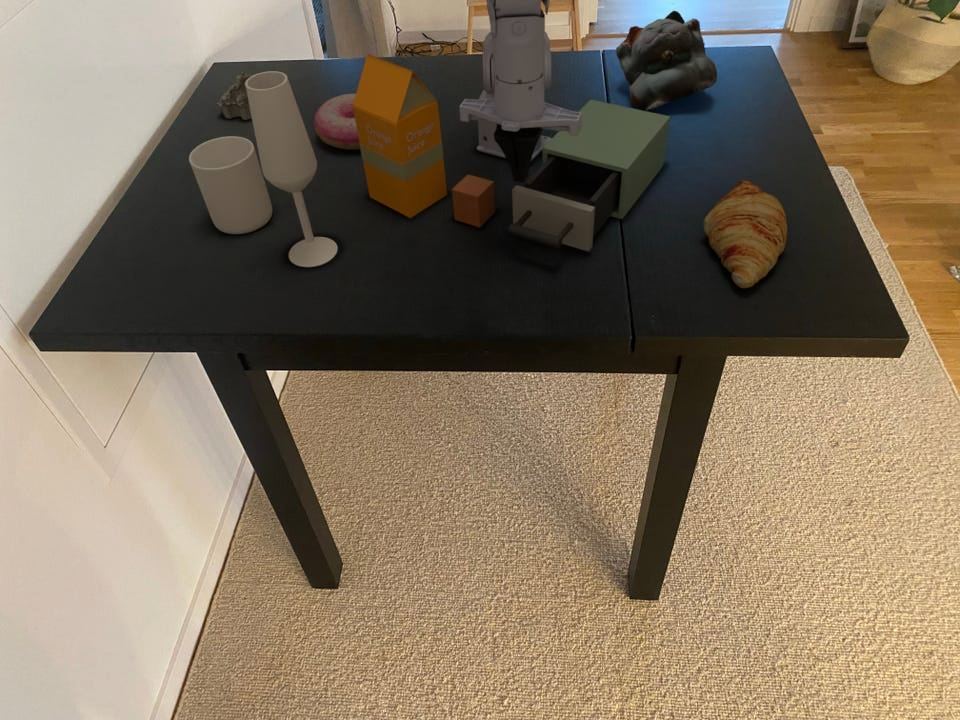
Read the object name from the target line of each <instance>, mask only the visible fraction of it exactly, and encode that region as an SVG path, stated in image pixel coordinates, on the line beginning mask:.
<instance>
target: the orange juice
mask: <svg viewBox="0 0 960 720" xmlns="http://www.w3.org/2000/svg"><path fill="white" fill-rule="evenodd" d="M355 93H356V96H355V99H354V103H353V104H352V105H353V111H354V116H355V121H356V126H357V132H358V137H359V142H360V149H359V150H360V154H361V159H362V163H363V168H364V174H365V178H366V184H367V189H368V194H369V198H370V199H373V200H374V201H377V202H378V203H380V204H383V205H384V206H386V207H388V208H390V209H392V210H394V211H396V212H397V213H399V214H401V215H403V216H405V217H407V218H409V219H412V218H413V217H414V216H416V215H418V214H419V213H421V212H422V211H424V210H425V209H427V208H428V207H430V206H432V205H434V204H435V203H436V202H438V201H440V200H441V199H443V198H444V197H446V196H447V195H448V191H447V181H446V171H445V161H444V159H445V157H444V145H443V141H442V140H443V139H442V132H441V122H440V113H439V112H440V111H439V100H438V99H437V98H436V97H435V96H434V95H433V93H432V92H431V91H430V90H429V89H428V87H427V86H426V85H425V84H424V83H423V82H422V80H421V79H420V78H419V77H418V76H417V75H416V74H415V72H414V71H413V70H412V69H409V68H406V67H404V66H401V65H400V64H399V65H398V64H396V63H394V62H390V61H388V60H385V59H382V58H380V57H378V56H375V55H372V54H369V53H366V58H365V61H364V65H363V69H362V72H361V76H360V79H359V82H358V86H357V90H356V92H355Z"/></svg>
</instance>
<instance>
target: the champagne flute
mask: <svg viewBox="0 0 960 720" xmlns="http://www.w3.org/2000/svg"><path fill="white" fill-rule="evenodd" d="M245 86H246V91H247V96H248V101H249V106H250V111H251V116H252V118H251V122H252V126H253V132H254V136H255V141H256V146H257V151H258V156H259V161H260V162H259V163H260V168H261V172H262V175H263V177H264V179H265V180H267V181H268V182H269V183H270V184H271V185H273V186H274V187H275V188H277V189H280V190H283V191H285V192H287V193H291V194H292V198H293V201H294V204H295V207H296V211H297V215H298V218H299V219H298V220H299V222H300V226H301V230H302V233H303V236H304V239H302V240H300V241H297V242H296V243H295V244H294V245H293V246H292V247H291V248H290V250H289V251H288V259H289V261H290V262H291V263H292V264H294V265H295V266H298V267H301V268H302V267H303V268H312V267H313V268H314V267H319V266H322V265H324V264H326V263H328V262H330V261H331V260H332V259H333V258H334V257H335V256H336V255H337V253H338V249H339V248H338V245H337V243H336V242H335V241H334V240H333V239H331V238H329V237H325V236H314V233H313V229H312V226H311V221H310V218H309V214H308V211H307V207H306V202H305V199H304V195H303V192H302V191H303V190H304V189H305V188H306V187H307V186H308V185H309V184H310V183H311V182H312V180H313V179H314V177H315V175H316V174H317V173H316V172H317V168H318V160H317V157H316V155H315V151H314V149H313V146H312V143H311V140H310V137H309V135H308V131H307V128H306V126H305V123H304V120H303V117H302V114H301V112H300V109H299V106H298V103H297V101H296V98H295V95H294V92H293V89H292V86H291V83H290V81H289V78H288V75H287V74H286V73H284V72H281V71H275V70H274V71H273V70H270V71H262V72H259V73H256V74H254V75H252V76H251V77H250V78H249V79H247V81H246V82H245Z"/></svg>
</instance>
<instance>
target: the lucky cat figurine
mask: <svg viewBox="0 0 960 720" xmlns="http://www.w3.org/2000/svg"><path fill="white" fill-rule="evenodd" d="M700 24H701V23H700V21H699V19H697V18H691V19H689V20H687V21H685V20H684V18H683V17H682V15H681V13H680V12H679V11H678V10H672V11H671V12H670V13H669V14H667V15H666V17H664V18H658V19H655V20H654V21H653V22H650V23H648V24H646V25H645V26H644V27H639V26H638V25H634V26H630V27H629V29H628V34H627V35H626V38H625V39H624V40H623V41H622V42H621V43H620V44H619V45H618V46H617V47H616V48H615V52H616V57H617V59H618V61H619V65H620V69H621V70H622V72H623V75H624V78H625V80H626V82H627V86H628V89H629V92H630V97H629V98H630V102H631V104H632V106H633V107H635V109H637V110H642V111H647V112H648V111H651V110H654V109H657V108H660V107H662V106H664V105H666V104H667V105H668V104H670V103H672V102H674V101H678V100H680V99H683V98H686V97H692V96H694V95H695V94H698V93H700V92H701V91H704V90H707V89H709V88H711V87H713V86H714V85H715V84H716V83H717V82H718V70H717V67H716V64H715V62H714V61H713V60H712V59H711V58H709V57H708V56H707V54H706V47H705V42H704V38H703V35H702V32H701V25H700Z"/></svg>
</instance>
